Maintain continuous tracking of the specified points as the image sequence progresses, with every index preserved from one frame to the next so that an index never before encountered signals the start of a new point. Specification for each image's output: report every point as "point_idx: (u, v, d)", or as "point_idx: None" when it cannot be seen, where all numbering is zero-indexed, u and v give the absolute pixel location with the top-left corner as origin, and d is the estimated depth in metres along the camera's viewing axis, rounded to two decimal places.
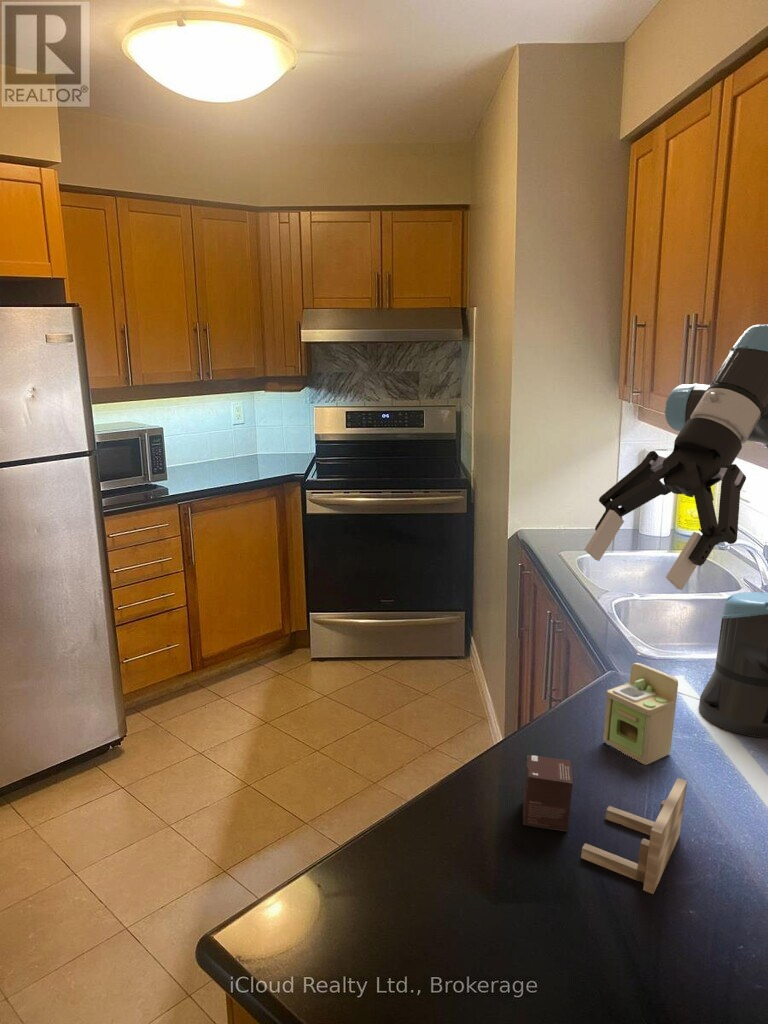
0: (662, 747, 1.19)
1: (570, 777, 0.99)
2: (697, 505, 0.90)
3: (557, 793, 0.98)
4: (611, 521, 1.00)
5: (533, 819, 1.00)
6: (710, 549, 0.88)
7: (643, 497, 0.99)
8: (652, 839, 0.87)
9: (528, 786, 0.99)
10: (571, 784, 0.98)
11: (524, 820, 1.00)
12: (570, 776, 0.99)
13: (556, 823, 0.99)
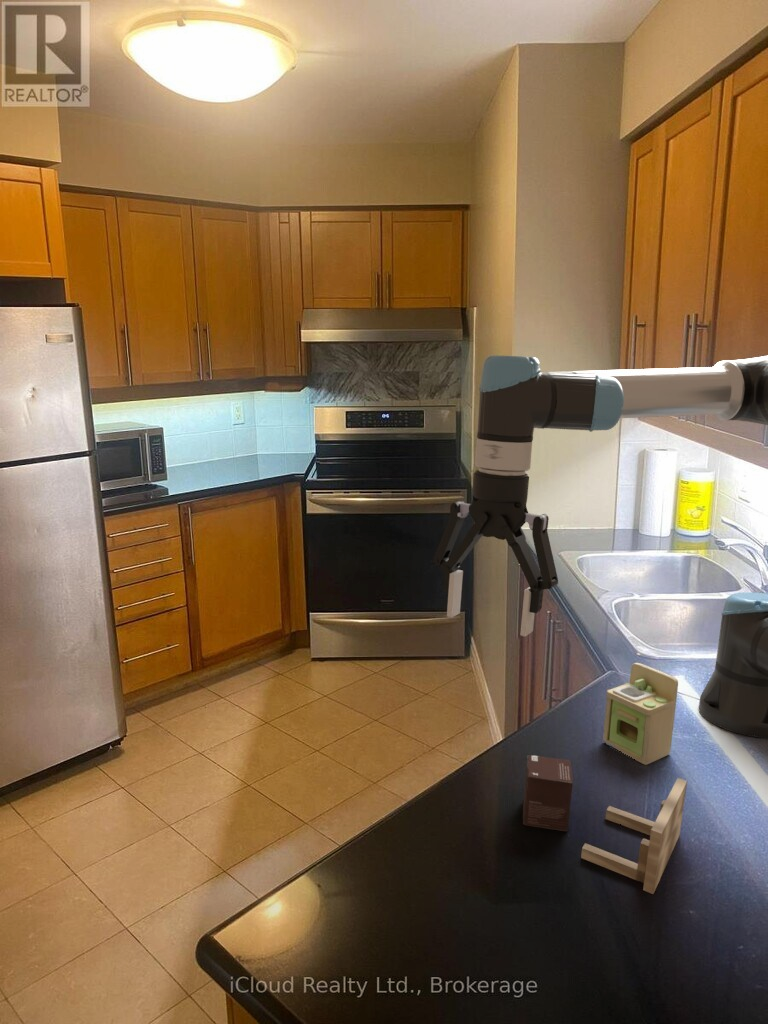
0: (662, 747, 1.19)
1: (570, 777, 0.99)
2: (518, 560, 1.01)
3: (557, 793, 0.98)
4: (456, 582, 1.08)
5: (533, 819, 1.00)
6: (542, 596, 1.02)
7: (470, 548, 1.06)
8: (652, 839, 0.87)
9: (528, 786, 0.99)
10: (571, 784, 0.98)
11: (524, 820, 1.00)
12: (570, 776, 0.99)
13: (556, 823, 0.99)
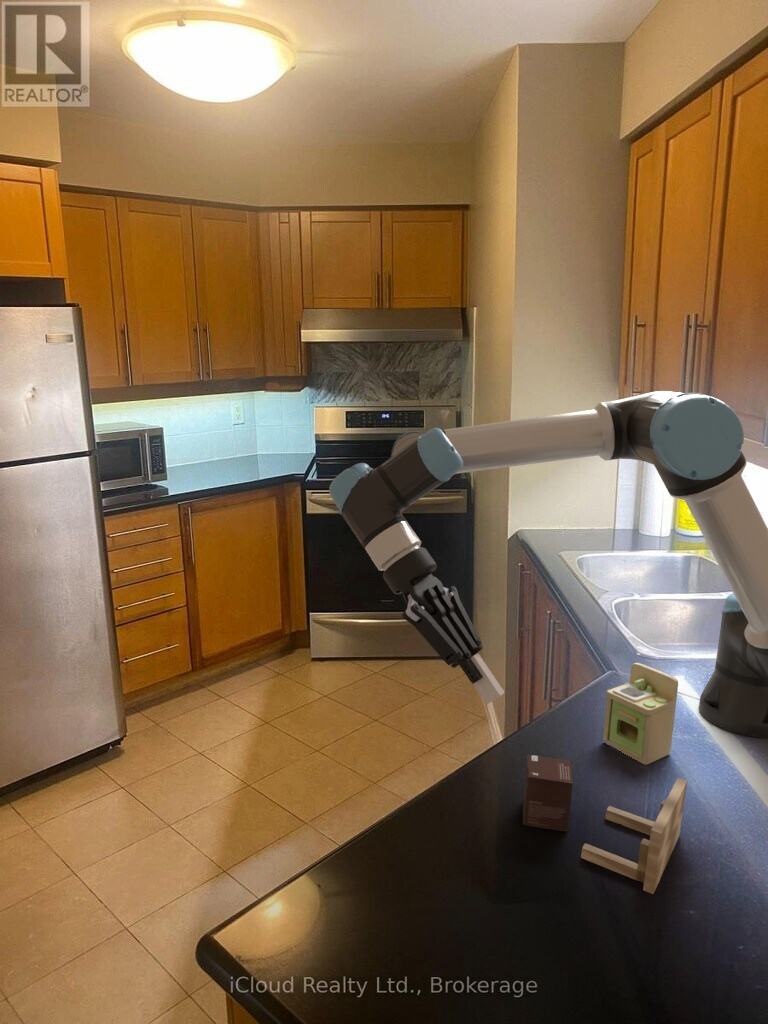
0: (662, 747, 1.19)
1: (570, 777, 0.99)
2: None
3: (557, 793, 0.98)
4: None
5: (533, 819, 1.00)
6: (468, 666, 1.03)
7: None
8: (652, 839, 0.87)
9: (528, 786, 0.99)
10: (571, 784, 0.98)
11: (524, 820, 1.00)
12: (570, 776, 0.99)
13: (556, 823, 0.99)
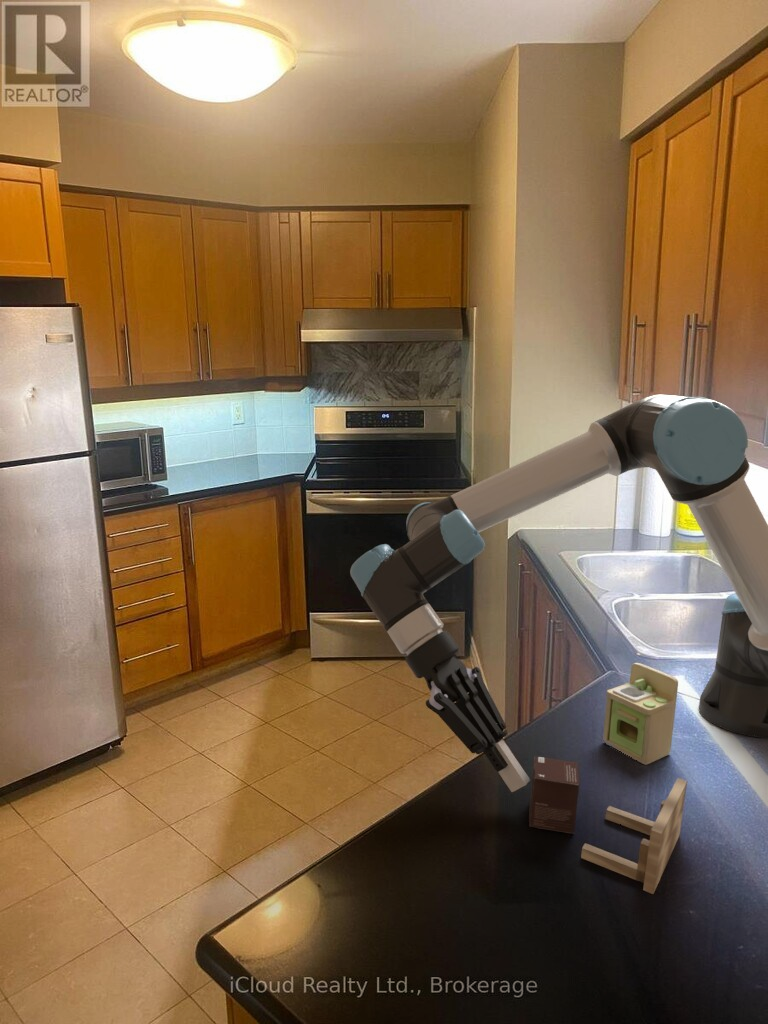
0: (662, 747, 1.19)
1: (577, 779, 0.98)
2: None
3: (563, 795, 0.98)
4: None
5: (539, 821, 0.99)
6: (493, 755, 1.03)
7: None
8: (652, 839, 0.87)
9: (534, 788, 0.98)
10: (578, 786, 0.97)
11: (530, 822, 1.00)
12: (577, 778, 0.99)
13: (562, 825, 0.99)
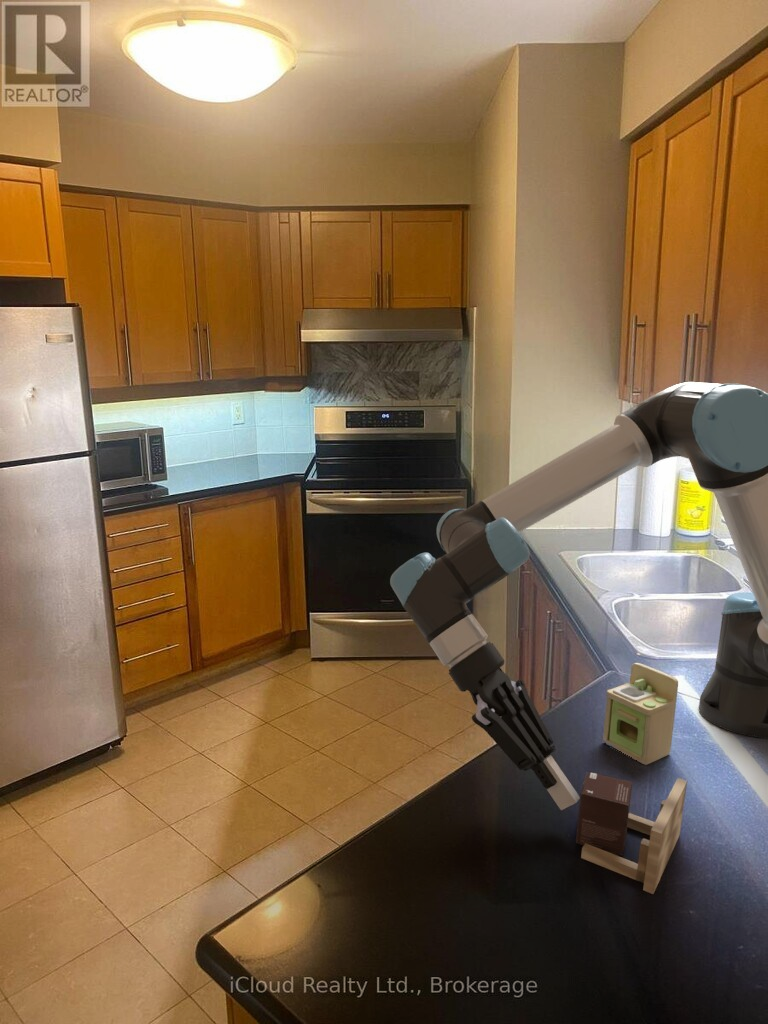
0: (662, 747, 1.19)
1: (627, 799, 0.94)
2: None
3: (612, 814, 0.94)
4: None
5: (586, 838, 0.96)
6: (542, 771, 0.99)
7: None
8: (652, 839, 0.87)
9: (582, 804, 0.95)
10: (627, 806, 0.93)
11: (577, 838, 0.96)
12: (627, 798, 0.95)
13: (610, 846, 0.95)
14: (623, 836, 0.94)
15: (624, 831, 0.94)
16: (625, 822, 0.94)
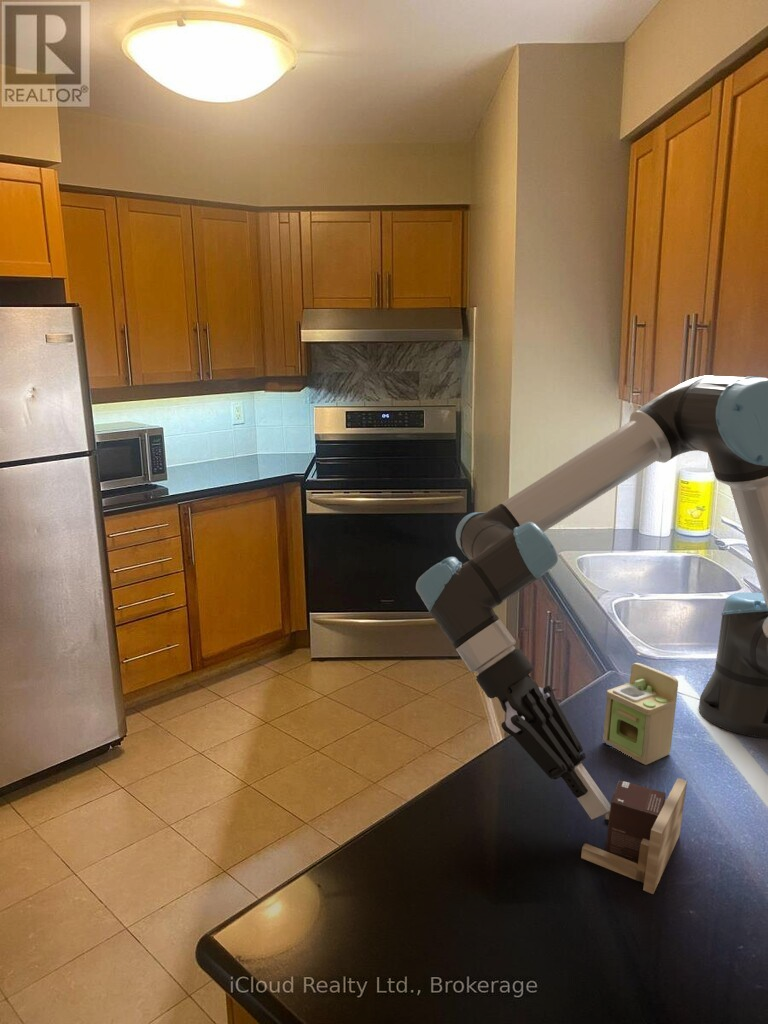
0: (662, 747, 1.19)
1: (659, 809, 0.92)
2: None
3: (642, 824, 0.92)
4: None
5: (616, 848, 0.94)
6: (572, 780, 0.97)
7: None
8: (652, 839, 0.87)
9: (611, 812, 0.94)
10: None
11: (606, 847, 0.95)
12: (659, 808, 0.93)
13: None
14: None
15: None
16: None
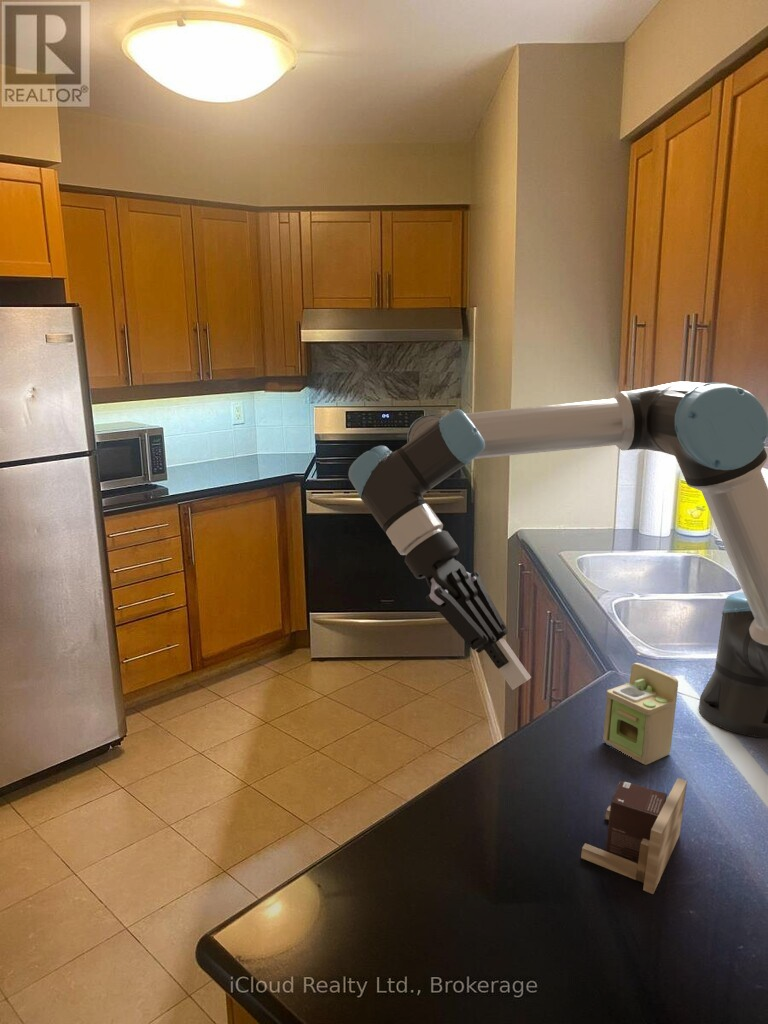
0: (662, 747, 1.19)
1: (659, 810, 0.92)
2: None
3: (642, 825, 0.92)
4: None
5: (616, 848, 0.94)
6: (494, 651, 1.01)
7: None
8: (652, 839, 0.87)
9: (611, 812, 0.94)
10: None
11: (606, 847, 0.95)
12: (659, 809, 0.93)
13: None
14: None
15: None
16: None
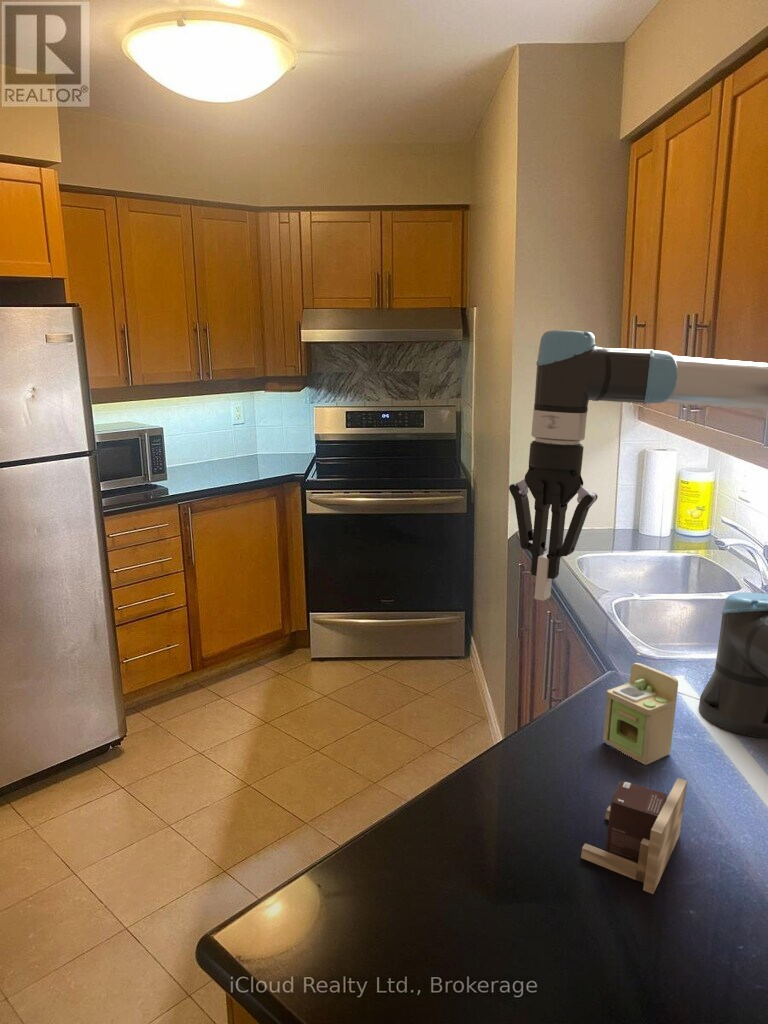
0: (662, 747, 1.19)
1: (659, 810, 0.92)
2: (551, 526, 1.08)
3: (642, 825, 0.92)
4: None
5: (616, 848, 0.94)
6: (559, 563, 1.10)
7: (545, 523, 1.10)
8: (652, 839, 0.87)
9: (611, 812, 0.94)
10: None
11: (606, 847, 0.95)
12: (659, 809, 0.93)
13: None
14: None
15: None
16: None
